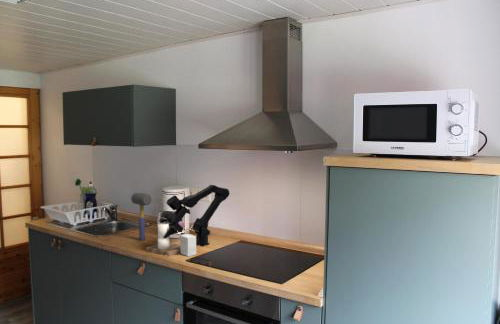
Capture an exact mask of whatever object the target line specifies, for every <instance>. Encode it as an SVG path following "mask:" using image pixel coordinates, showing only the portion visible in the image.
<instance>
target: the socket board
mask: <svg viewBox="0 0 500 324" xmlns="http://www.w3.org/2000/svg"><path fill="white" fill-rule="evenodd" d="M145 249H146V252H148V251H149V253H152V252H154V253H153V254H157V253H158V254H157V255H161V254H163V256H165V255H167V256H166V257H171V256H174V255H176V254H177V255H178V254H181V252H180V244H176V243H172V242H170V249H168V250H164V251H163V250H158V243H157V244H154V245H151V246H147V247H146V248H145ZM170 255H171V256H170Z"/></svg>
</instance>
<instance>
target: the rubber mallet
mask: <svg viewBox="0 0 500 324" xmlns="http://www.w3.org/2000/svg"><path fill="white" fill-rule="evenodd" d="M130 199H131V202H132V203H133V204H135V205H139V218H138V229H139V232H138V233H139V234H138V235H139V236H138V239H139V241H146V233H145V230H146V229H145V227H146V221H145V220H146V219H145V212H144V211H145V210H144V209H145V207H144V206H150V204H151V203H152V199H153V198H152V196H151V195H150V194H148V193H143V192H135V193H133V194H132V196H131V197H130Z"/></svg>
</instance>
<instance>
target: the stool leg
mask: <svg viewBox="0 0 500 324" xmlns="http://www.w3.org/2000/svg"><path fill="white" fill-rule="evenodd" d="M168 229H169V223H160V222H159V223H157V244H158V250H163V251H164V250H168V249H170V243H171V241H170V239H171V238H170V236H169V237H167V238H164V235H165V234H166V232H167V231H168Z"/></svg>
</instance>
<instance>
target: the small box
mask: <svg viewBox="0 0 500 324" xmlns="http://www.w3.org/2000/svg"><path fill="white" fill-rule="evenodd" d="M179 238H180V239H179V245H180V254H181V255H183V256H186V257H191V256H192V257H193V256H196V255H197V245H196V243H197V235H193V234H191V233H187V234H186V233H184V234H179Z"/></svg>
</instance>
